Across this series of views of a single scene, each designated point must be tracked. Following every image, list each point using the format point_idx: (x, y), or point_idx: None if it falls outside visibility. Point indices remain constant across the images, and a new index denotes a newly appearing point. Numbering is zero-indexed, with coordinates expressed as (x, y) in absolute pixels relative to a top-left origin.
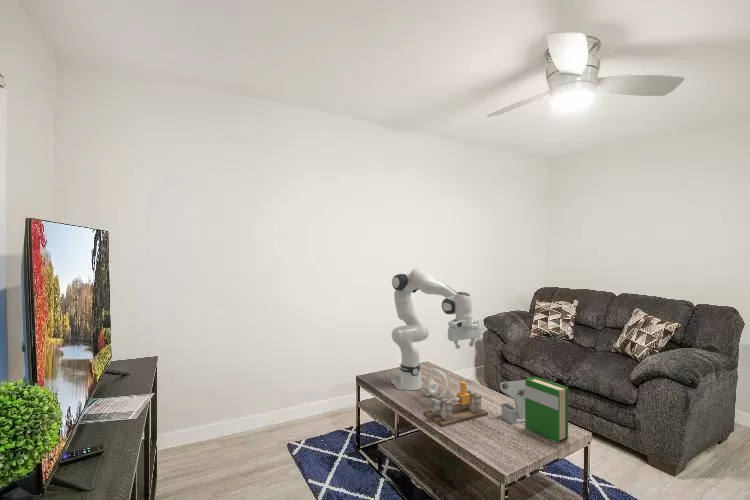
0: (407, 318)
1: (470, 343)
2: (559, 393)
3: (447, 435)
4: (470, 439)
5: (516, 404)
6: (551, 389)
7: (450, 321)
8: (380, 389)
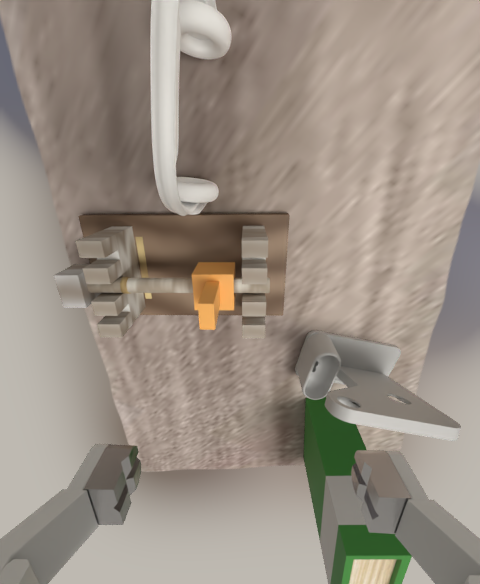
0: None
1: (377, 510)
2: None
3: (101, 348)
4: (145, 382)
5: (349, 385)
6: None
7: None
8: None
